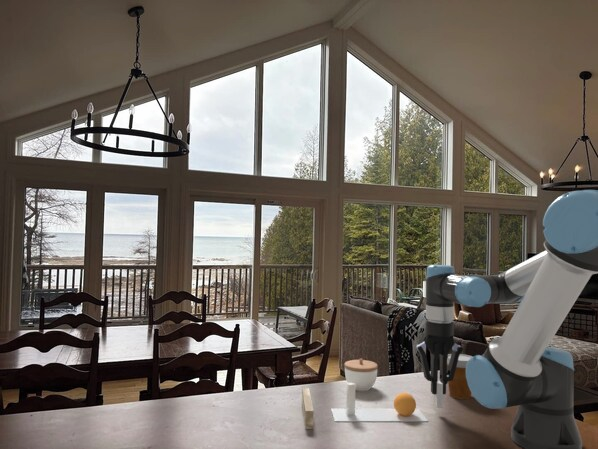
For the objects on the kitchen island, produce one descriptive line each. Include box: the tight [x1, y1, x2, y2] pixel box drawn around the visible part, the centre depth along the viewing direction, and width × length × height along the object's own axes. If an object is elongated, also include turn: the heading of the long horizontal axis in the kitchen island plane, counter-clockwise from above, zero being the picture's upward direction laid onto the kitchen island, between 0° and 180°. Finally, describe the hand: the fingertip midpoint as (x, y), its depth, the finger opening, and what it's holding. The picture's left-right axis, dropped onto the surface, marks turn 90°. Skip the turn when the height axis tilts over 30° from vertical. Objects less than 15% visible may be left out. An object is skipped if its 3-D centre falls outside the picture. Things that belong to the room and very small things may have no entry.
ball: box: [393, 392, 417, 416], centre depth 129 cm, size 6×6×6 cm
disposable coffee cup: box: [447, 353, 473, 400], centre depth 145 cm, size 10×10×12 cm
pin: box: [345, 382, 356, 416], centre depth 128 cm, size 2×2×8 cm
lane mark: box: [330, 407, 429, 423], centre depth 128 cm, size 25×9×1 cm, turn 92°
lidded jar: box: [344, 358, 379, 392], centre depth 152 cm, size 11×11×9 cm
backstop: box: [301, 387, 314, 430], centre depth 127 cm, size 2×18×4 cm, turn 3°
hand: (438, 405), depth 129 cm, fingers closed
